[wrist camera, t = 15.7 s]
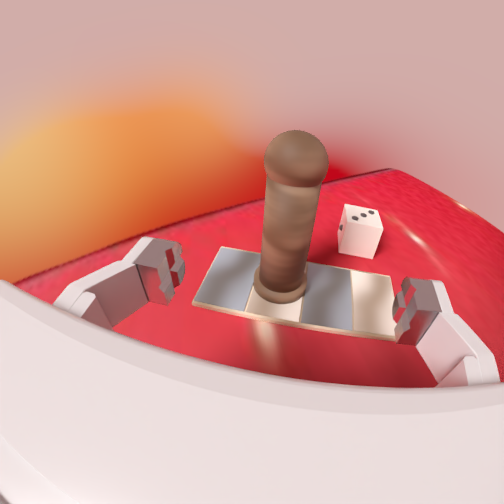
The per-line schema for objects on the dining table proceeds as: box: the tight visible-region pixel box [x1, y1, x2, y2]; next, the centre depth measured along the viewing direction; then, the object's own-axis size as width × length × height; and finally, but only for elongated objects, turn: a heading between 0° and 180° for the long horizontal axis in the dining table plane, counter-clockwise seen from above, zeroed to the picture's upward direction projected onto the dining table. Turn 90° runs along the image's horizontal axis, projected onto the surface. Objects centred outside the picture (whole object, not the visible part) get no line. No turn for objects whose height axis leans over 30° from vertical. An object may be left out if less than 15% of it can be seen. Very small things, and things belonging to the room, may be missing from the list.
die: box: [338, 204, 383, 259], centre depth 33 cm, size 5×5×5 cm
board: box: [192, 246, 397, 341], centre depth 27 cm, size 20×9×1 cm, turn 77°
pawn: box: [253, 130, 329, 304], centre depth 23 cm, size 5×5×15 cm
